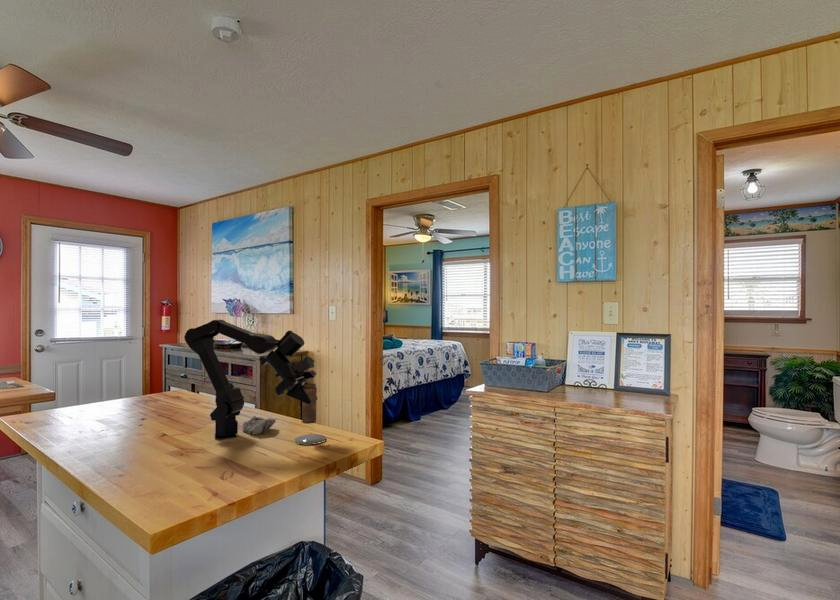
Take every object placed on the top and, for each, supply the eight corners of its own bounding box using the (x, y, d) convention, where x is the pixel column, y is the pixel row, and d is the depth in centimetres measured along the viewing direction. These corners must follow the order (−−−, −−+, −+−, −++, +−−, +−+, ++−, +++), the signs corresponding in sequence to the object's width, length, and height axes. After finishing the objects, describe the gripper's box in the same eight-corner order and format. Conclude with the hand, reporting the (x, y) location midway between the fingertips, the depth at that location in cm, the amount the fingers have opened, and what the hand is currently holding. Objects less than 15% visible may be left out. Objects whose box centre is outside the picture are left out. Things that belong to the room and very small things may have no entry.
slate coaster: (297, 446, 139) (297, 445, 139) (292, 438, 148) (292, 436, 148) (329, 442, 143) (329, 441, 143) (321, 434, 152) (321, 432, 152)
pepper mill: (306, 424, 141) (307, 379, 141) (299, 421, 144) (300, 377, 144) (318, 422, 143) (319, 378, 144) (311, 419, 147) (312, 376, 147)
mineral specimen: (255, 439, 149) (233, 430, 156) (281, 432, 158) (259, 425, 165) (256, 421, 149) (235, 414, 156) (282, 416, 158) (260, 409, 165)
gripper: (284, 352, 135) (317, 390, 133) (311, 346, 154) (341, 380, 151) (260, 376, 137) (293, 415, 135) (290, 368, 155) (319, 401, 153)
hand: (313, 401), depth 143 cm, fingers closed on pepper mill, 4 cm apart
